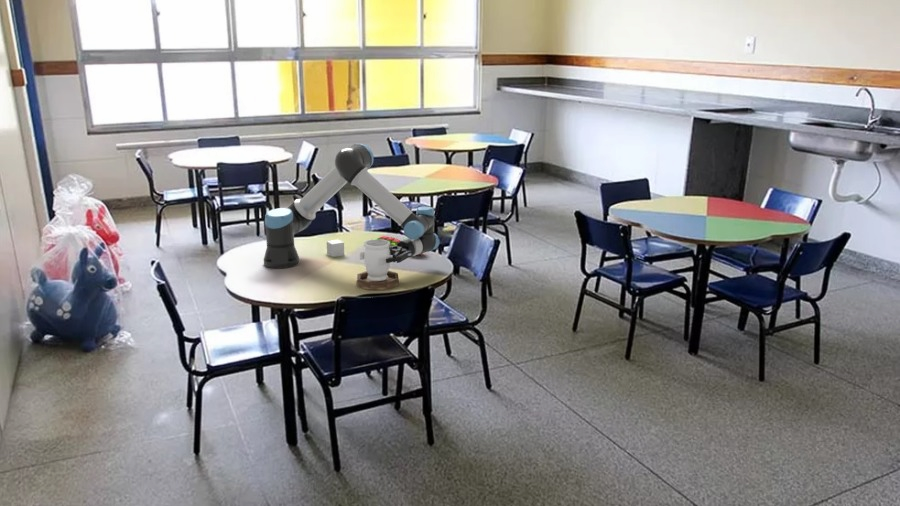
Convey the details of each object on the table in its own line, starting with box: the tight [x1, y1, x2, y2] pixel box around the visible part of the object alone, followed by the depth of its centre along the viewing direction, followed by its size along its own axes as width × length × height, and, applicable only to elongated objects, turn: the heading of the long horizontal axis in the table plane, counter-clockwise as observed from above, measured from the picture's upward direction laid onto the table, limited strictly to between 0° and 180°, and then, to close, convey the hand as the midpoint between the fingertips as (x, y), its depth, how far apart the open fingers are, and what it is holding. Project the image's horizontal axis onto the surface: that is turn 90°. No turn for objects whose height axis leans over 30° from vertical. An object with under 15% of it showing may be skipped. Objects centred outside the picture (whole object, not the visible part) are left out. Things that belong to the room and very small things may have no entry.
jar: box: [363, 239, 390, 281], centre depth 276 cm, size 11×10×15 cm
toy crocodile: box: [371, 235, 407, 246], centre depth 325 cm, size 20×7×6 cm, turn 56°
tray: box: [355, 270, 400, 291], centre depth 278 cm, size 17×17×3 cm
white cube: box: [326, 239, 345, 257], centre depth 314 cm, size 6×6×6 cm
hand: (369, 259), depth 272 cm, fingers closed on jar, 10 cm apart
